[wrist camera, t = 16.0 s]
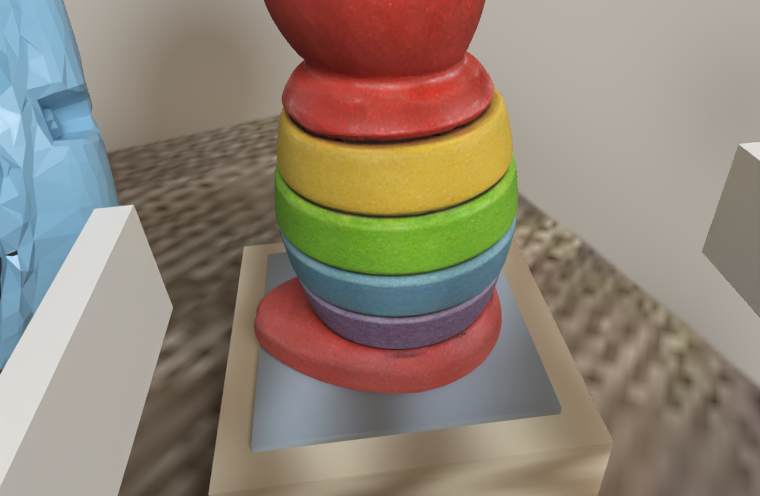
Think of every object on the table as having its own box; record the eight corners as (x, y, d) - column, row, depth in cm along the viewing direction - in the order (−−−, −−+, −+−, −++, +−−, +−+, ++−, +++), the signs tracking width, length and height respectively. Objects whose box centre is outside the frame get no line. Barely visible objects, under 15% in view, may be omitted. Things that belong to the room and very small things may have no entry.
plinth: (232, 547, 23) (205, 488, 21) (257, 298, 35) (242, 240, 33) (596, 499, 24) (615, 436, 21) (499, 271, 36) (504, 212, 33)
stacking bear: (389, 224, 33) (365, -156, 22) (551, 298, 27) (625, -164, 17) (237, 332, 27) (101, -122, 16) (406, 456, 21) (373, -116, 10)
